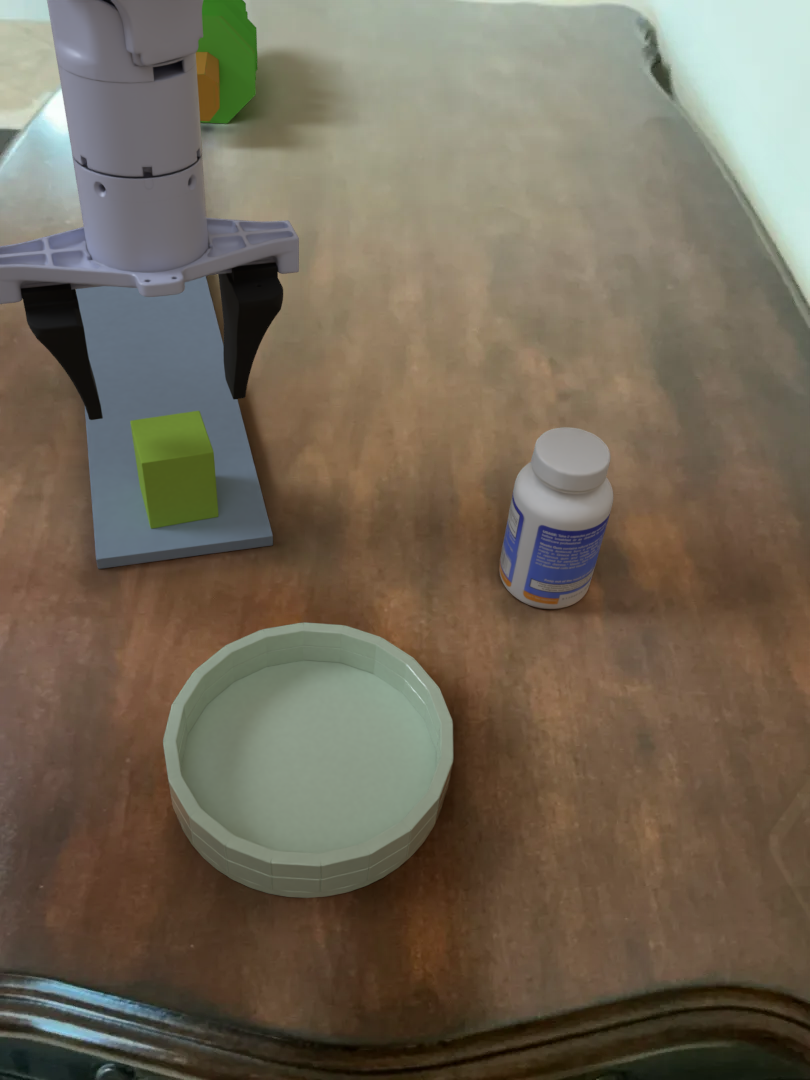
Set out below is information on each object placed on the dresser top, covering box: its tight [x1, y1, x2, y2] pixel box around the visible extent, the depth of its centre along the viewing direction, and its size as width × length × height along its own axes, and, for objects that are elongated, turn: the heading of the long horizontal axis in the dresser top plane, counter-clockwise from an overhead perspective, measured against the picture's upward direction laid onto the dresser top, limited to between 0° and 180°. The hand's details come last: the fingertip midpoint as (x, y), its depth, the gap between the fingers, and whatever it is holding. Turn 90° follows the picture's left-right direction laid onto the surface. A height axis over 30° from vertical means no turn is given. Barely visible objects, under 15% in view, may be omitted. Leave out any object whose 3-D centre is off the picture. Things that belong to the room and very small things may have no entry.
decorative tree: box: [196, 0, 259, 124], centre depth 104 cm, size 11×12×30 cm
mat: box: [75, 276, 274, 570], centre depth 68 cm, size 36×10×1 cm, turn 16°
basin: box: [162, 621, 454, 899], centre depth 46 cm, size 13×13×3 cm
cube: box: [130, 411, 219, 529], centre depth 57 cm, size 4×4×5 cm
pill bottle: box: [498, 426, 614, 610], centre depth 54 cm, size 5×5×10 cm
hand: (166, 398), depth 53 cm, fingers open, 7 cm apart
